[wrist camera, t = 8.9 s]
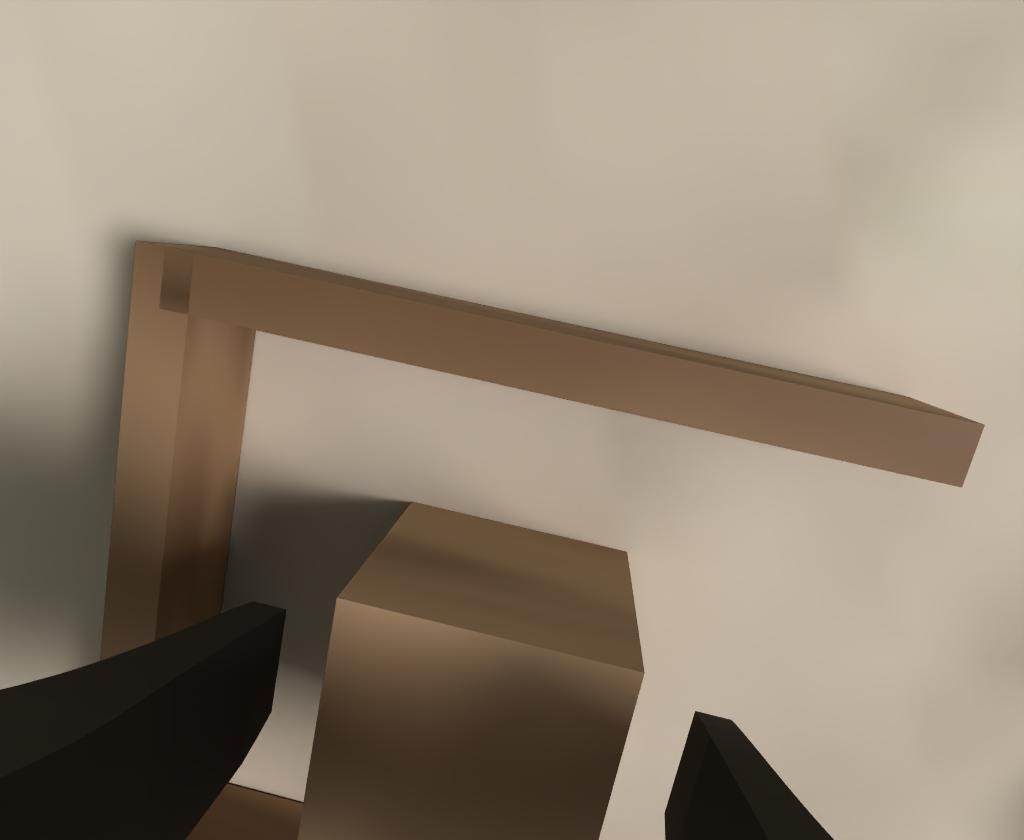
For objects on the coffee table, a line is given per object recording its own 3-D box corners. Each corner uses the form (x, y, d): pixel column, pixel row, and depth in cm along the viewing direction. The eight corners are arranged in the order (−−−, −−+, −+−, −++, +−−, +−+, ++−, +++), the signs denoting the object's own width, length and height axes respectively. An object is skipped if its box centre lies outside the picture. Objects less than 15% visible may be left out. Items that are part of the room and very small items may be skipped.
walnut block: (577, 740, 15) (573, 928, 11) (378, 689, 15) (295, 854, 11) (627, 550, 14) (644, 673, 10) (413, 500, 14) (336, 598, 10)
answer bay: (721, 953, 16) (745, 1077, 13) (155, 801, 16) (80, 891, 14) (909, 397, 13) (984, 424, 10) (216, 247, 14) (135, 240, 11)
